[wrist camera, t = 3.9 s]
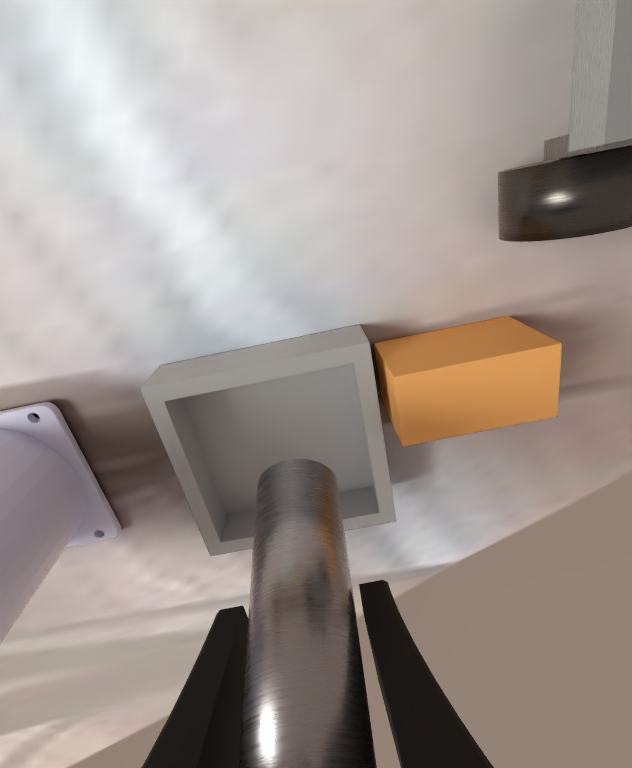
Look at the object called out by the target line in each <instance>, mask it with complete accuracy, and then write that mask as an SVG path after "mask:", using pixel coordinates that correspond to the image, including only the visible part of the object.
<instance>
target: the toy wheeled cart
mask: <svg viewBox="0 0 632 768" xmlns="http://www.w3.org/2000/svg"><path fill="white" fill-rule="evenodd" d="M554 159H555V160H554ZM549 160H550V161H549ZM544 161H546V162H541V163H536V164H532V165H527V166H523V167H518V168H514V169H509V170H505V171H501V172H498V197H499V239H501V240H505V241H544V240H556V239H565V238H573V237H581V236H587V235H594V234H599V233H605V232H610V231H615V230H619V229H624V228H627V227H631V226H632V0H577V7H576V25H575V42H574V60H573V78H572V96H571V114H570V132H569V135H565V136H561V137H557V138H554V139H550V140H546V141H545V147H544Z"/></svg>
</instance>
